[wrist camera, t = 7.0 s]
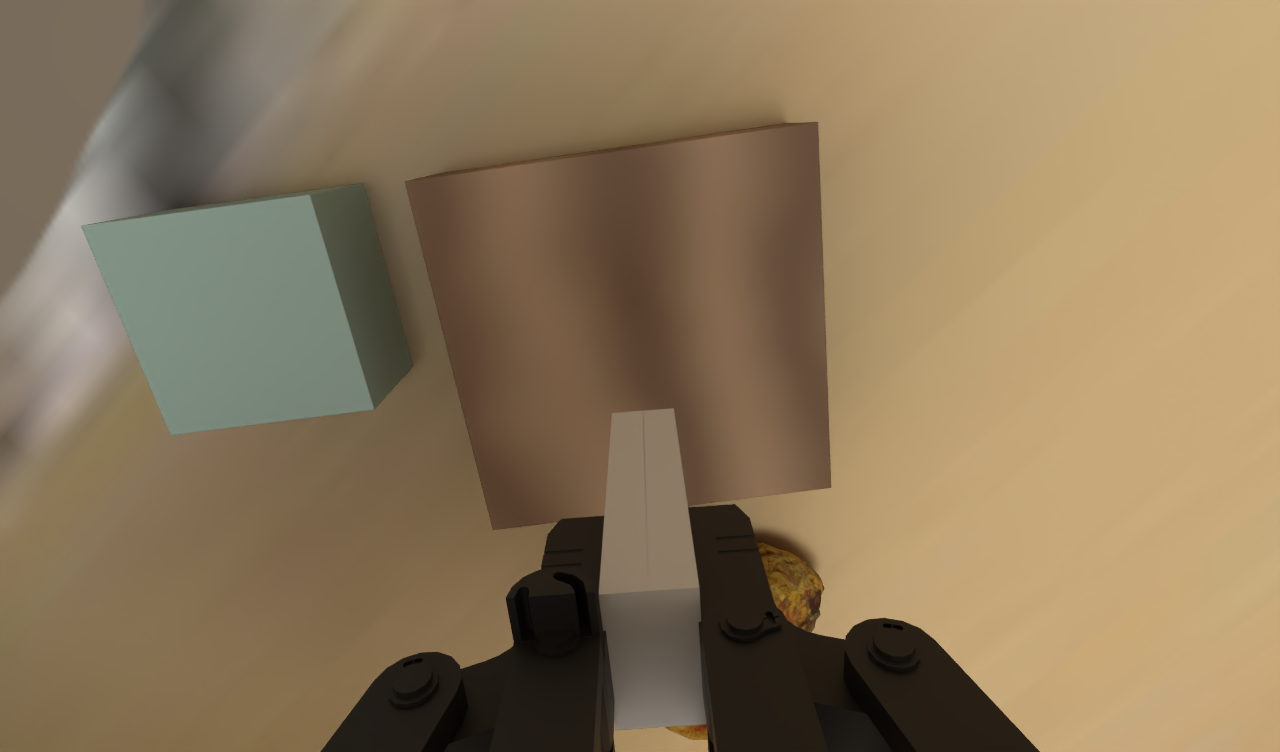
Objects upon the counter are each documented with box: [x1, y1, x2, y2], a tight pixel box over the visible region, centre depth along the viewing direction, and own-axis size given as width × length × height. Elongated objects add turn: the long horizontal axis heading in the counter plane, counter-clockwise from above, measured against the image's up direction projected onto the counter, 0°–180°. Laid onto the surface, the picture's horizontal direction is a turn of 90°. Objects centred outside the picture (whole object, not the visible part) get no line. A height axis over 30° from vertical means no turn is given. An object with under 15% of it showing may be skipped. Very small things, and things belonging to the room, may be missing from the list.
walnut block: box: [405, 122, 831, 530], centre depth 27 cm, size 14×14×5 cm
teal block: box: [81, 183, 413, 435], centre depth 26 cm, size 8×8×5 cm
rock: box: [666, 542, 824, 740], centre depth 31 cm, size 11×8×10 cm
